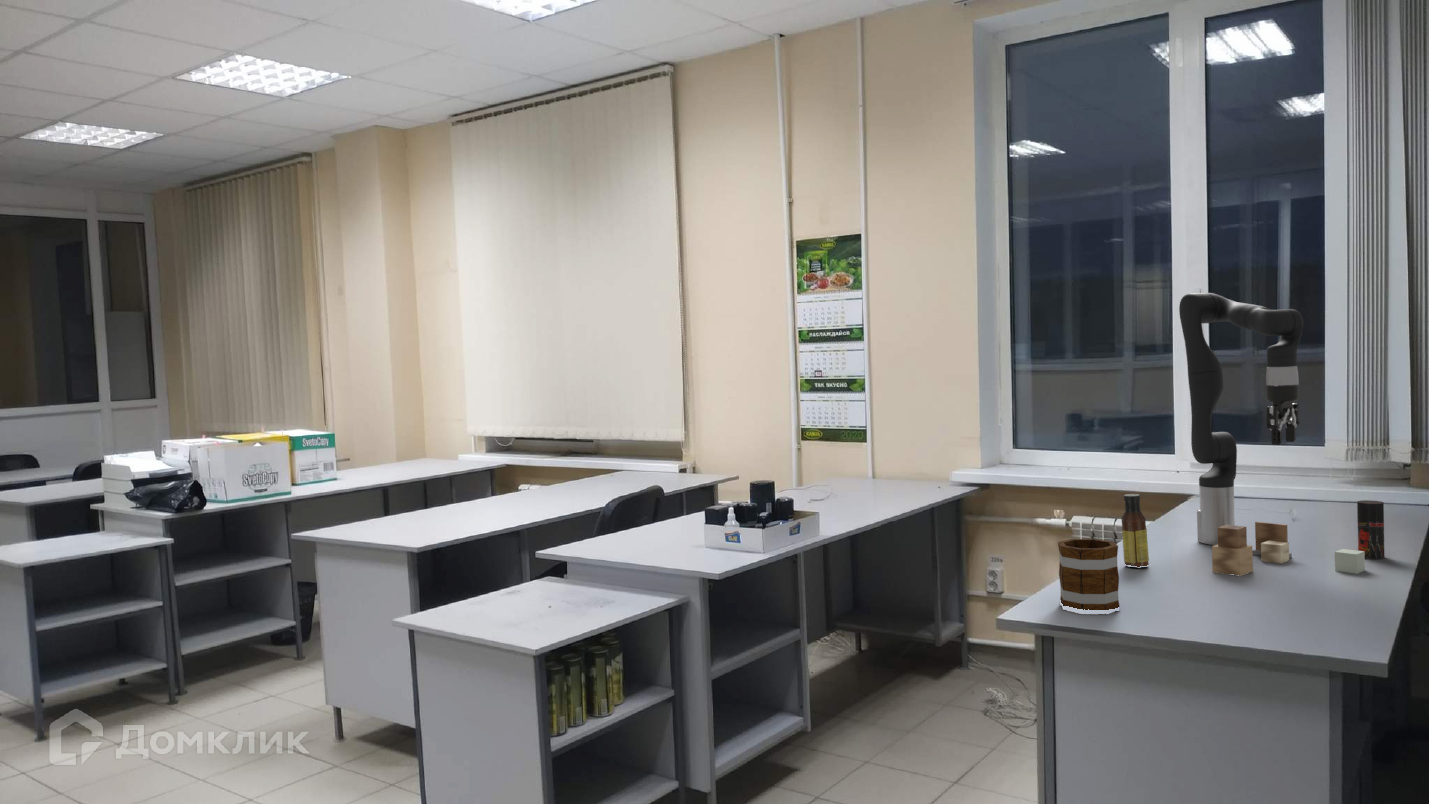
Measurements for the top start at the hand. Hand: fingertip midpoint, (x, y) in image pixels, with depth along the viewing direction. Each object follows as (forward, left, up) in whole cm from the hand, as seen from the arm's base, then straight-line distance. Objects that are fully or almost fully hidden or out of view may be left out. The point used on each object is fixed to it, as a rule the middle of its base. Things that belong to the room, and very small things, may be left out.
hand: (1283, 443), depth 258 cm
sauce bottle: (-25, -32, -32) cm, 52 cm away
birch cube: (-2, -2, -32) cm, 32 cm away
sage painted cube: (+16, -2, -32) cm, 36 cm away
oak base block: (-4, -22, -32) cm, 39 cm away
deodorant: (+14, +18, -32) cm, 40 cm away
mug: (-12, -74, -32) cm, 82 cm away
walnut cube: (-4, -22, -25) cm, 34 cm away
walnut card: (-5, +3, -32) cm, 33 cm away
